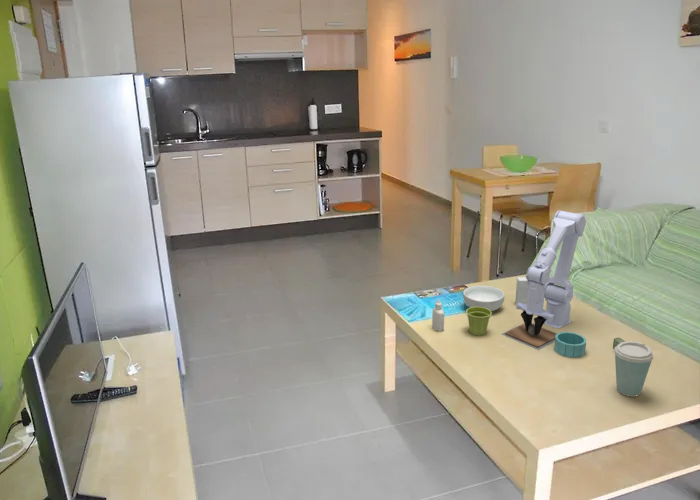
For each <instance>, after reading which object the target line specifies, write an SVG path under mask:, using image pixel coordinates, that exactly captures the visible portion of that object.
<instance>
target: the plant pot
mask: <svg viewBox="0 0 700 500" xmlns="http://www.w3.org/2000/svg"><path fill="white" fill-rule="evenodd" d="M465 313H466V315H467V319H468V328H469V332H470V334H472V335H474V336H485V335H486V334H487V330H488V325H489V321H490V318H491V315H493V314H492V313H493V311H490V310H489V309H487V308H484V307H471V308H470V307H468V308H467V309H466V311H465Z"/></svg>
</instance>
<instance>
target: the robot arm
mask: <svg viewBox="0 0 700 500" xmlns="http://www.w3.org/2000/svg"><path fill="white" fill-rule="evenodd" d="M586 223H587V220H586V217H585V215H584V214H582V213H581V214H580V213H576V212H569V211H564V210H561V209H560V210H558V211H556V212H555V213H554V217H553V221H552V225H553V231H552V233H551V235H550V238H549V241H548V243H547V244H546V247H545V248H542V249H541V250H540V252H539V254H538V256H537V258H536V259H535V262H534V264H533V265H532V266H529V267H528V268H527V271H526V274H525V277H526V279H527V285H528V286H529V287H528V298H527V304H522V303H518V304H516V303H515V309H517V310H520V311H522V312H521V313H520V316H521V317H522V321H523V324H524V323H525V328H526V331H528V328H529V325H530V324H533V323H534V324H535V335H538V334H539V333H540V330H541V328H543V326H544V324H545V325H547V326H550V327H552V328H555V329H560V328H563V327H564V326H566V325H568V324H569V323H570V324H571V323H572V320H571V319H570V318H571V308H572V307H571V302H572V299H573V298H574V286H575V285H574V284H573V283H572V282H571V281H570V280H569V276H570V271H571V268H572V263H573V261H574V260H573V259H574V256H575V252H576V248H577V244H578V241H579V237H582V236H583V234H584V230H585V227H586ZM560 245H561V246H560ZM559 247H561V248H560V252H559V255H557V253H556V252H557V251H558V249H559ZM557 256H558V259H557ZM556 259H557V263H556V267H555V271H554V274H553V275H554V276H552V277H550V276H551V272H552V267H553V265H554V263H555V261H556ZM545 301H546V306H545V309H544V302H545ZM534 316H536V317H534ZM533 317H534V318H533ZM533 321H534V322H533ZM532 322H533V323H532Z"/></svg>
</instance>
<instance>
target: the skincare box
mask: <svg viewBox="0 0 700 500" xmlns="http://www.w3.org/2000/svg"><path fill="white" fill-rule="evenodd" d="M515 285H516V286H515V287H516V289H515V300H514V301H515V305H516V304H518V303H522V304H527V298H528V287H529V286H528V285H527V279H526V276H525V277H524V276H522V277H521V276H519V277H518V276H517V277H516V284H515Z"/></svg>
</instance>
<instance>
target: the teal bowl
mask: <svg viewBox="0 0 700 500" xmlns="http://www.w3.org/2000/svg"><path fill="white" fill-rule="evenodd" d="M586 347H587V338H585V336H583V335H582V334H579V333H576V332H570V331H561V332H558V333H557V334H556V336H555V342H554V346H553V349H554V351H555V353H556V354H558V355H560V356H562V357H567V358H575V359H576V358H581V357H584V355H585V354H586Z"/></svg>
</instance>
